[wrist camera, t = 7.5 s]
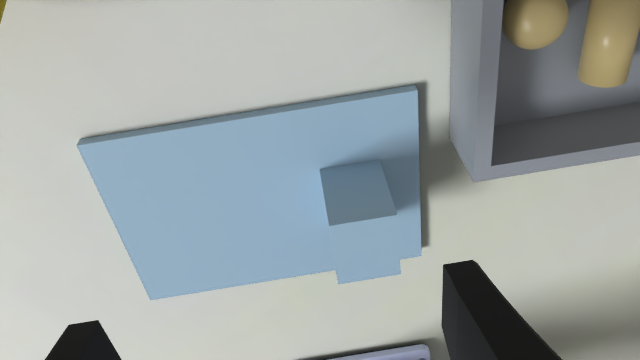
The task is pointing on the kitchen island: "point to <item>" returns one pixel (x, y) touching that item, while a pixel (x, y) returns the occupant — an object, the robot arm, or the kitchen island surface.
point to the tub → (543, 84)
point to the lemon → (2, 7)
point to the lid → (266, 193)
